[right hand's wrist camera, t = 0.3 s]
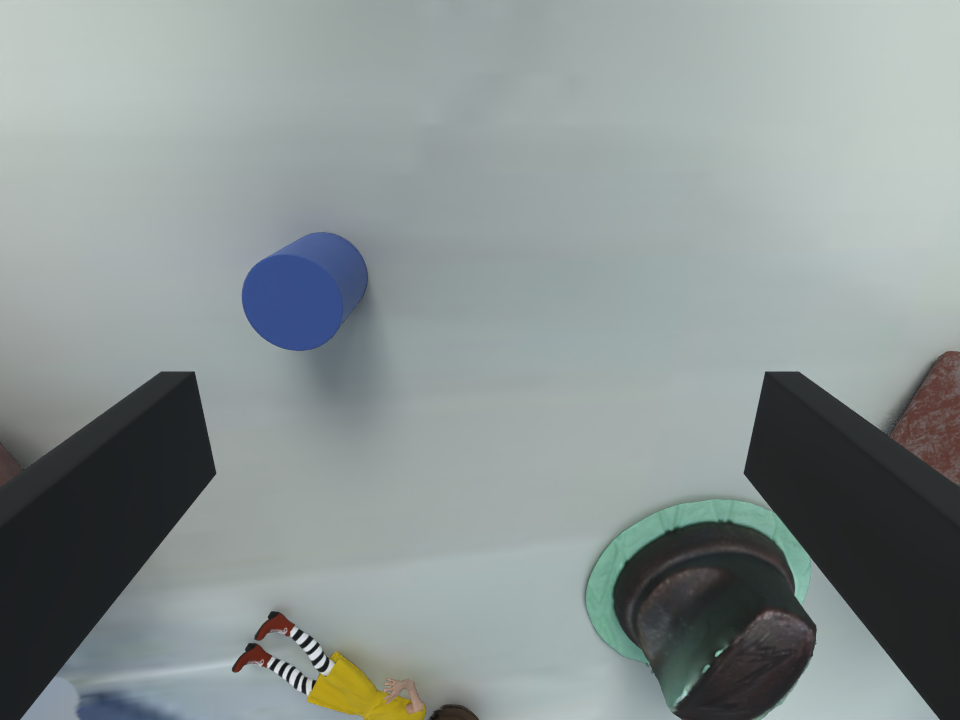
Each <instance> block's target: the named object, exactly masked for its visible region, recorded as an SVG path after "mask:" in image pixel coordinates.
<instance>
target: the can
mask: <svg viewBox="0 0 960 720" xmlns="http://www.w3.org/2000/svg"><path fill="white" fill-rule="evenodd" d="M367 276H368V275H367V269H366V265H365V262H364V260H363V258H362V256H361V254H360V253H359V251H358V250H357V249H356V248H355V247H354V246H353V245H352V244H351V243H350V242H349V241H347V240H346V239H344V238H342V237H340V236H338V235H335V234H331V233H324V232H321V233H312V234H309V235H306V236H304V237H302V238H300V239H299V240H297V241H295V242H293V243H292V244H290V245H288V246H286V247H284V248H283V249H281V250H279V251H277V252H276V253H274V254H272V255H270V256H268V257H267V258H265V259H263V260H261V261H260V262H259V263H257V264H256V265H255V266H254V267H253V268H252V269H251V270H250V272H249V273H248V275H247V277H246V279H245V281H244V284H243V289H242V303H243V308H244V311H245V314H246V317H247V319H248V321H249V322H250V324H251V325H252V327H253V328H254V329H255V330H256V332H257V333H258V334H259V335H260V336H262V337H263V338H264V339H265V340H267V341H268V342H270V343H272V344H274V345H276V346H278V347H281V348H284V349H288V350H295V351H303V350H310V349H313V348H317V347H319V346H321V345H323V344H324V343H326V342H327V341H328V340H330V339H331V338H332V337H333V335H334V334H335V333H336V332H337V330H338V329H339V328H340V326H341V325H342V324H343V322H344V321H345V320H346V318H347V317H348V315H349V314H350V313H351V311H352V310H353V309H354V307H355V306H356V305H357V303H358V302H359V301H360V299H361V298H362V296H363V294H364V292H365V290H366V286H367Z"/></svg>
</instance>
